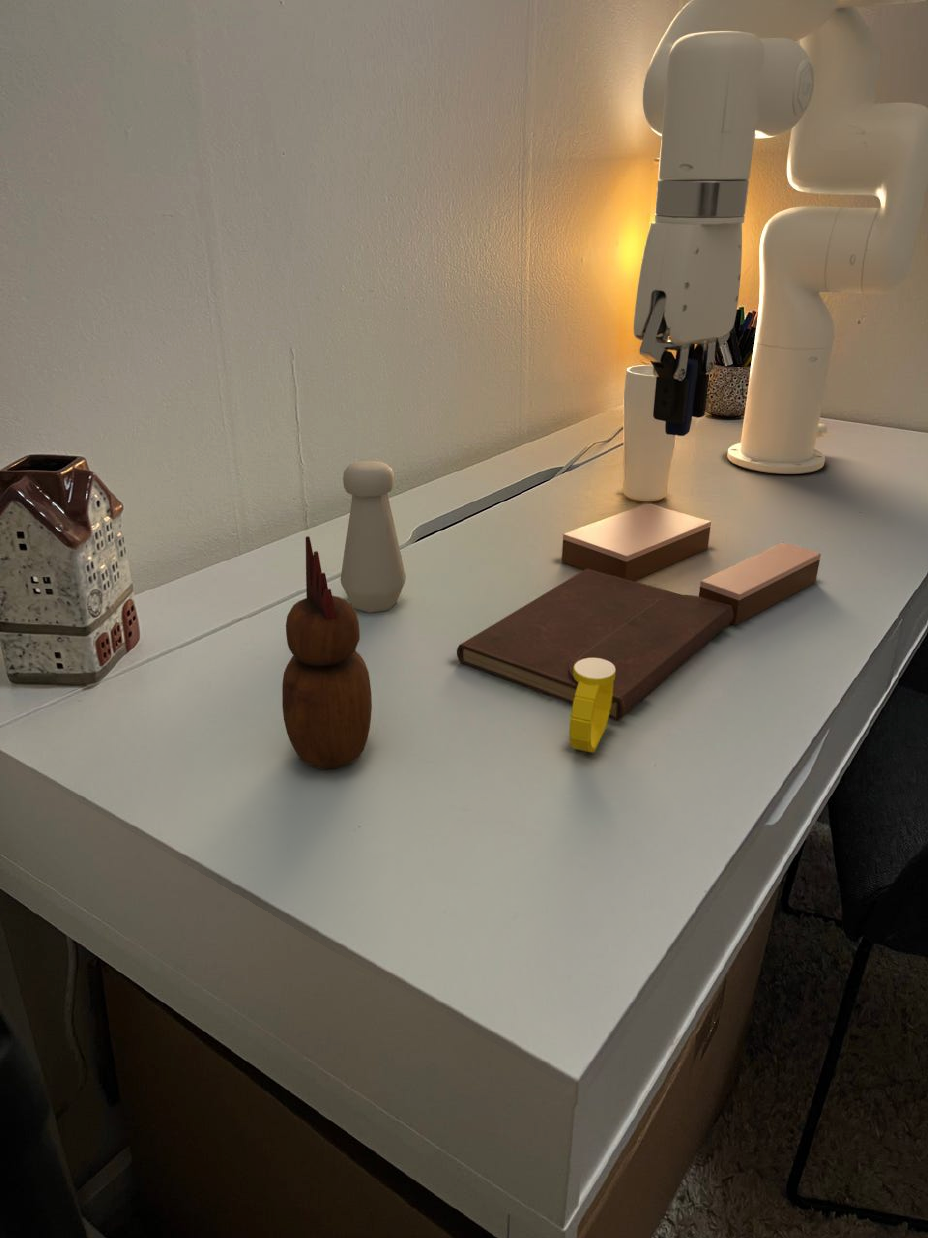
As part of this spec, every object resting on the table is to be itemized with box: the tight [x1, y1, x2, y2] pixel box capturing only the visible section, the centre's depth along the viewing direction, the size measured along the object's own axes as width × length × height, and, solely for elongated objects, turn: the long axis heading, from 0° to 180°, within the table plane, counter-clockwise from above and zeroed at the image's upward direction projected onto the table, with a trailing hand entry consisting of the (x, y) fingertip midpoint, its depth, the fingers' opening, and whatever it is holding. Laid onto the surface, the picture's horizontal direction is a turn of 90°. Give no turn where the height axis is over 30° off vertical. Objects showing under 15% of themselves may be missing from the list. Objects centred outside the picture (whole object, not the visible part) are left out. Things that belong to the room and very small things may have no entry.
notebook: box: [456, 569, 734, 722], centre depth 77 cm, size 15×20×2 cm
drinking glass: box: [622, 364, 678, 503], centre depth 109 cm, size 7×7×15 cm
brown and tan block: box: [561, 502, 712, 582], centre depth 94 cm, size 14×8×3 cm, turn 133°
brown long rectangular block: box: [698, 542, 822, 626], centre depth 85 cm, size 14×4×3 cm, turn 133°
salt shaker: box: [340, 460, 407, 614], centre depth 81 cm, size 6×6×13 cm
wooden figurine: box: [281, 536, 373, 770], centre depth 59 cm, size 7×6×15 cm
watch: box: [568, 658, 616, 754], centre depth 63 cm, size 6×3×6 cm, turn 157°
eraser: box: [665, 359, 698, 437], centre depth 86 cm, size 2×2×7 cm
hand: (678, 416), depth 87 cm, fingers closed on eraser, 2 cm apart
